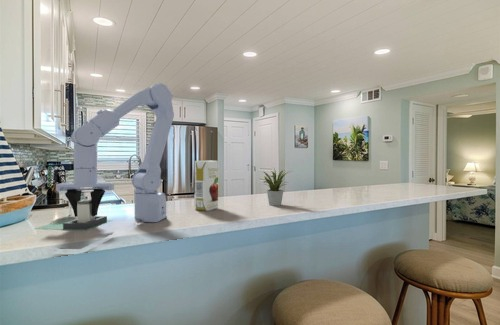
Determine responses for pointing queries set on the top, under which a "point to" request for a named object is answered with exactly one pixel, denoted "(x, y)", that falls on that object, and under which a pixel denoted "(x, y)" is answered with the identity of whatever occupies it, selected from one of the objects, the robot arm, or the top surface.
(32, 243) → the top surface
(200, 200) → the juice carton
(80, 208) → the plug
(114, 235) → the top surface
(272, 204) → the house plant
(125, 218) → the top surface
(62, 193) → the wineglass
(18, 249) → the top surface
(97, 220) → the circuit board
